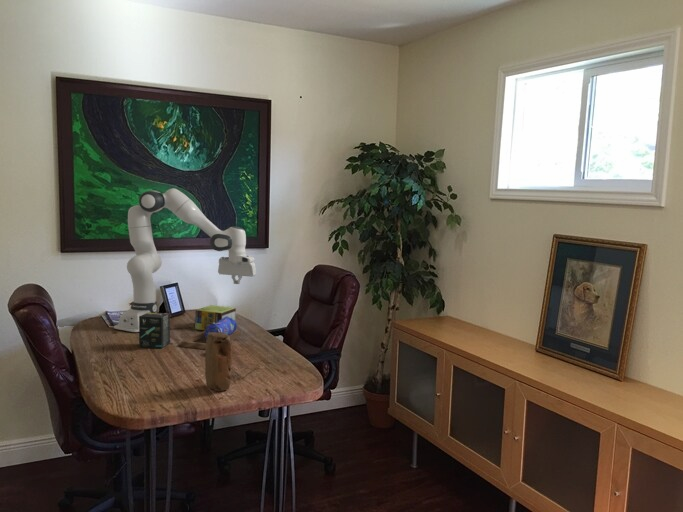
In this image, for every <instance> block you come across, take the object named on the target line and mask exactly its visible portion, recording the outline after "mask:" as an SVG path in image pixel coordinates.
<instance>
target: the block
mask: <svg viewBox="0 0 683 512" xmlns="http://www.w3.org/2000/svg"><path fill="white" fill-rule="evenodd" d="M205 340H206V341H205V343H206V349H205V364H204V366H205V367H204V368H205V369H204V370H205V371H204V373H205V374H204V375H205V384H206V386H207V387H208V388H209V389H210V390H213V391H218V392H221V391H222V392H223V391H226V390H229V388H230V386H231V377H232V376H231V369H232V364H233V363H232V361H233V346H232V340H230V337H229V335H227V334H226V333H223V332H219V333H215V332H212V333H208V334H207V339H206V338H205Z"/></svg>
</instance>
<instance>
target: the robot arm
mask: <svg viewBox="0 0 683 512" xmlns="http://www.w3.org/2000/svg"><path fill="white" fill-rule="evenodd" d="M138 203H139V204H136V205H132V206H131V207H129V209H128V212H127V227H128V235H129V243H130V244H131V246H132V247H133V250H134V251H135V255H134V256H133V257H131V258H130V259H129V260H128V261H127V262H126V263H127V264H126V269H127V273H128V274H130V278H131V282H132V289H133V297H132V298H133V301H132V302H130V303H129V302H128V305H129V306H130V308H129V309H128V310H126V311H125V312H124V313H123V314H121V315H120V316H119V320H118V323H117V324H116V325H114V327H113V329H115V330H120V331H126V332H130V333H131V332H132V333H139V316H141V315H144V314H146V313H158V312H157V310H158V301H157V285H156V284H155V282H154V277H153V274H154V273H156V272H158V270H159V269H160V268H161V266H162V258H161V256H160V255H159V254H158V251H157V248H156V246H155V242H154V237H153V229H152V222H151V218H152V217H151V216H152V215H154V214H156V213H158V212H159V213H160V212H161V211H163V210H164V209H168V210H169V211H170V212H172V214H174V215H175V216H176V217H177V218H178V219H179V220H181V221H183V222H184V223H186V224H190V225H193V226H196V227H198V228H199V229H200V230H202V231H203V232H204V233H205V234H206V235H208V236H209V237H210V241H209V243H210V247H211V248H212V249H213V250H214V251H217V252H223V251H227V250H228V256H221V257H220V258H219V259H218V267H217V268H218V270H217V272H218V274H219V275H223V276H224V275H226V276H231V279H232V281H233V285H240V284H241V280H242V278H243V277H255V276H256V275H257V268H256V263H255V257H254V256H251V255H249V254H247V253H246V252H247V251H246V245H247V235H246V231H245V229H244V228H242V227H239V226H235V225H234V226H230V227H229V228H227V229H225V230H222V229H220V228H219V227H218V226H217V225H215V224H214V223H213V222H212V221H211V220H209V218H207V216H206V215H205V214H204V213H203V212H202V210H201V209H200V208H199V207H198V206H197V204H196V203H195V202H194V201H193V200H192V199H191V198H189V197H188V196H187V195H186V194H185V193H184V192H182V191H181V190H179V189H177V188H175V187H173V188H169V189H168V190H166V191H165V192H164V193H163V192H161V191H158V190H146V191H144V192H142V193H141V194H140V196H139V198H138ZM236 277H237V278H238V279H236Z"/></svg>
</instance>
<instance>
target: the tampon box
mask: <svg viewBox="0 0 683 512" xmlns="http://www.w3.org/2000/svg"><path fill="white" fill-rule="evenodd" d="M170 314H171V313H165V312H164V313H163V312H156V313H146V314H144V315H141V316H139V332H138V335H139V337H138V338H139V339H138V340H139V341H138V342H139V343H138V345H139V346H138V347H139V348H144V349H163V348H165V347H166V346H168V345H169V344H171V324H170V323H171V322H170V321H171V320H170V318H171V317H170V316H171V315H170Z"/></svg>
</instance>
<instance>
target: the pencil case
mask: <svg viewBox="0 0 683 512" xmlns="http://www.w3.org/2000/svg"><path fill="white" fill-rule="evenodd" d="M237 327H238V324H237V322H236V319H235V320H234V319H233V318H230V317H228V316H226V317H224V318H223V319H221V320H220V321H218V322H217V323H213V324H210V325H209V326H208V327H207V328H206V330H204V331H205V337H204V339H205V340H206V339H207V334H208V333H212V332H215V333H219V332H223V333H226V334H227V335H231V334H233V333H235V332H236V330H237V329H238V328H237Z"/></svg>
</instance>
